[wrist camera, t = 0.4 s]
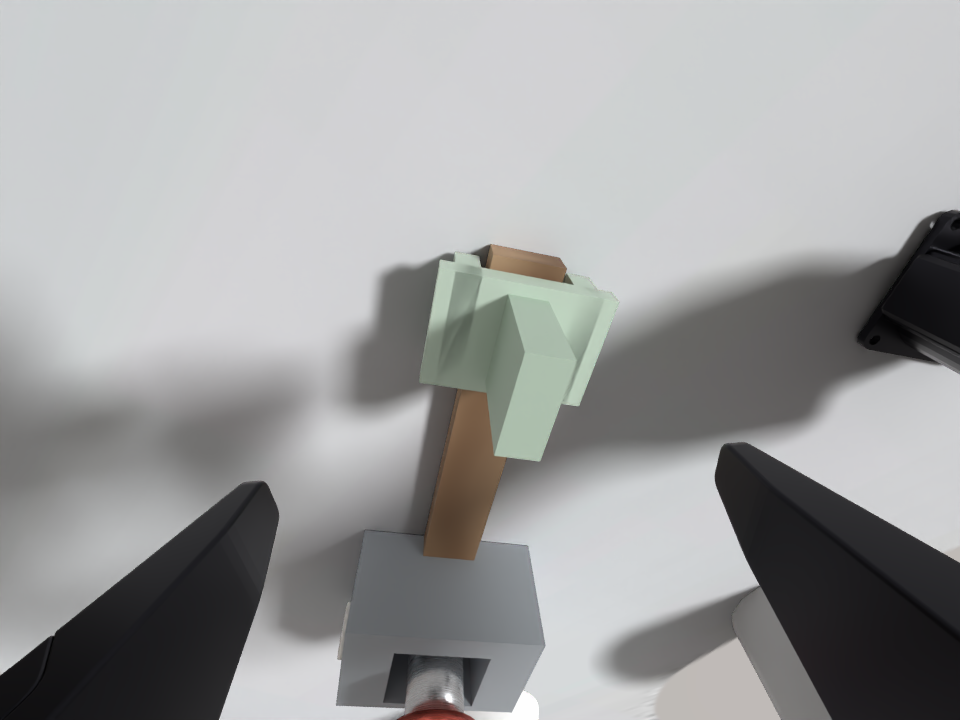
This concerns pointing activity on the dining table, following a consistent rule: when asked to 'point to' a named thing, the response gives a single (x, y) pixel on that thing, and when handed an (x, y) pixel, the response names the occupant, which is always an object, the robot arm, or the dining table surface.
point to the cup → (776, 660)
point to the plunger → (434, 688)
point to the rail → (475, 443)
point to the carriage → (515, 346)
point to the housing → (439, 621)
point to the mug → (521, 716)
